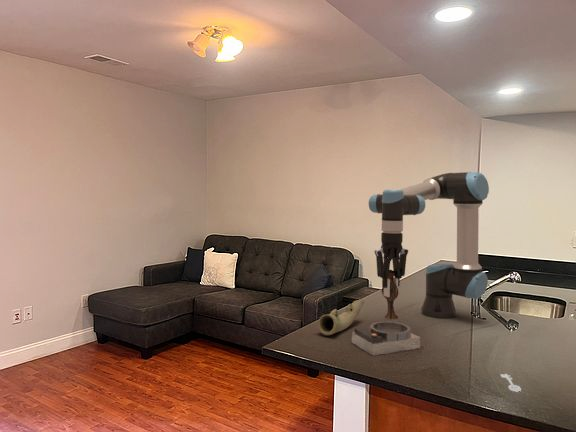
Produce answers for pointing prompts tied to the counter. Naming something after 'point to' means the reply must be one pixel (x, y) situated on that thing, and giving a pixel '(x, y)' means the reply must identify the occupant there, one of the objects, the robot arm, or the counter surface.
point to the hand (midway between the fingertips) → (390, 295)
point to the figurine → (391, 297)
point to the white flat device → (385, 338)
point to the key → (517, 388)
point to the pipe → (339, 319)
